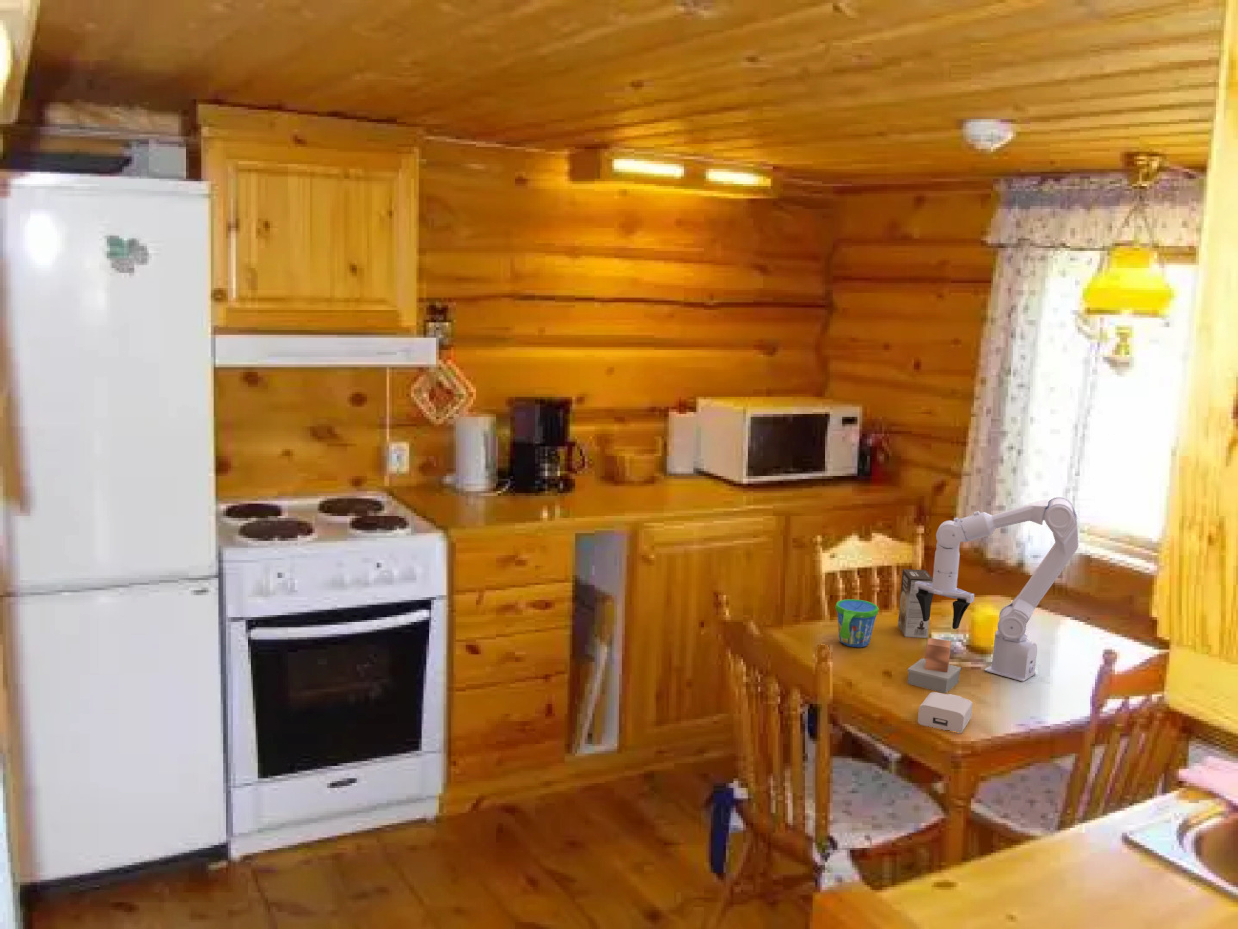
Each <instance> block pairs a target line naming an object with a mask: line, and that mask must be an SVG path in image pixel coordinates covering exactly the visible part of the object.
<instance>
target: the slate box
mask: <svg viewBox="0 0 1238 929" xmlns="http://www.w3.org/2000/svg"><path fill="white" fill-rule="evenodd" d="M925 662H926V658H920V659H919V660H917V661H916V662H915V663H913V664H912V665H911V666H909V667H908V668H907V673H908V676H907V684H908V685H912V686H915V687H919V688H922V687H923V688H924V689H927V690H931V691H933V692H937V693H942V694H948V692H949V691H951V689H953V688H954V687H955V686H956V685H957V684H958V683H960V671H961V670H962V667H961V666H957V665H952V664H949V667H948V671H947V672H940V671H934V670H928V669H925ZM923 688H922V689H923Z"/></svg>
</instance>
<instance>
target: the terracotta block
mask: <svg viewBox="0 0 1238 929" xmlns="http://www.w3.org/2000/svg"><path fill="white" fill-rule="evenodd" d="M926 644H927V645H926V653H925V654H926V655H925V659H926V662H925V669H928V670H934V671H940V672H947V671H948V667H949V665H950V657H951V656H950V655H951V648H952V646H951V645H952V641H951V640H946V639H940V638H939V639H938V638H933V637H928V640H927V643H926Z"/></svg>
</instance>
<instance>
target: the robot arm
mask: <svg viewBox="0 0 1238 929" xmlns="http://www.w3.org/2000/svg"><path fill="white" fill-rule="evenodd" d="M1043 521H1044V522H1045V524H1046V526H1047V527H1048V529H1049V530H1050V531H1051V532H1052V535H1053V539H1054V542H1055V543H1054V544H1053V545H1052V547H1051V548H1050V549H1049V551H1048V552H1047V554H1046V555H1045V557H1044V558H1043V560H1042V561H1041V562H1040V564H1039V565H1038V567H1037V568H1036V570H1034V572H1033V574H1032V575H1031V577H1030V578H1029V580H1028V581H1027V582H1026V584H1025V585H1024V586H1023V587H1022V589H1021V591H1020V592H1019V593H1018V595H1017V596H1015V597H1014V598H1013V600H1012V602H1010V603H1009V604H1008V605H1005V606H1003V608H1002V609H1001V610H1000V612H999V616H998V617H999V619H998V623H997V630H996V631H995V632H994V640H993V641H994V642H993V651H992V658H991V659H992V660H991V664H990V665H989V666H988V667H986V668H985V669H984V671H985V672H988V673H992V674H995V675H999V676H1001V677H1005V678H1009V679H1013V680H1015V681H1020V682H1024V681H1026V680H1028V679H1029V678H1031V677H1032V676H1034V675H1036V674H1037V672H1036V665H1037V664H1036V663H1037V657H1038V656H1037V654H1038V645H1037V643H1036V642H1034V641H1031V640H1030V639H1028V635H1027V634H1026V630H1027V624H1028V622H1029V621H1030V620H1031V618H1032V615H1033V614H1034V612H1035V609H1036V608H1037V607H1038V605H1039V604H1040V602H1041V601H1042V599H1043V598H1044V597H1045V595H1046V594H1047V592H1048V591H1049V590H1050V588H1051V587H1052V585H1053V584H1054V582H1055V581H1056V580H1057V578H1058V577H1059V576H1060V574H1061V573H1062V571H1063V570H1064V569H1065V567H1066V565H1067V564H1068V563H1069V562H1070V560H1071V559H1072V557H1073V555H1075V553H1076V552H1077V550H1078V548H1079V533H1078V532H1079V530H1078V517H1077V513H1076V510H1075V508H1074V506H1073V504H1072V502H1071V501H1070V500H1069V499H1067V498H1065V497H1063V496H1056V497H1052V498H1050V499H1047V498H1046V499H1041V500H1037V501H1033V502H1030V503H1028V504H1024V505H1021V506H1018V507H1014V508H1011V509H1009V510H1008V509H1007V510H1004V511H1002V512H999V513H996V514H990V513H988V512H985V511H983V512H980V511H979V510H977V511H973V514H971V515H968V516H964V517H961V518H959V517H954V518H953V520H945V521H943V522H942V523H941V524H939V526H938V528H937V531H936V533H935V537H936V538H935V539H936V541H937V542H936V545H935V547H936V550H935V552H934V562H933V573H932V578H933V582H932V583H927V582H921V581H917V582H915V587H914V590H917V591H918V593H916V597H917V599H918V601H919V604H920V607H921V611H922V616H923V621H925V622H926V621H928V620H929V621H930V617H931V607H932V601H933V598H934V595H939V596H942V597H947V598H950V599H955V600H954V601H953V602H952V610H953V616H952V624H951V627H952V630H957V629H959V628H960V624H961V621H962V619H963V617H964V614H965V612H966V611H967V609H968V607H969V606H970V605H971V603H973V602H974V601H975V593H972V592H968V591H966V590H963V589H961V588H958V587H957V586H958V578H959V566H960V557H961V556H960V555H961V554H960V546H961V542H964V543H967V542H971V541H975V540H979V539H983V538H985V537H989V536H992V535H993V534H994V532H995V530H996V529H999V528H1004V527H1007V526H1012V525H1016V524H1021V523H1025V522H1032V523H1034V524H1035V523H1036V524H1038V525H1040V526H1042V525H1043V523H1044V522H1043Z"/></svg>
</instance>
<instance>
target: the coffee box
mask: <svg viewBox="0 0 1238 929" xmlns="http://www.w3.org/2000/svg"><path fill="white" fill-rule="evenodd" d="M901 574H902V576H901V587H900V598H899V606H898V607H899V608H898V619H897V627H898V628H899V631H901V633H902V634H903V636H904V637H905V638H920V639H921V638H923V639H924V638H925V639H927V638H928V639H929V629H930V628H929V627H930V619H929V620H928V621H926V622H925V621H923V616H922V611H921V607H920V604H919V601H918V599H917V597H916V593H918V591H917V590H914V587H915V582H917V581H921V582H927V583H932V582H933V576H931V575H930V573H929V572H928V571H927V570H926V569H911V568H910V569H909V568H908V569H905V568H902V573H901Z"/></svg>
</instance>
